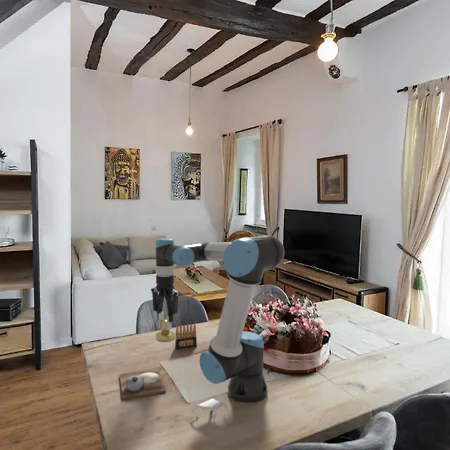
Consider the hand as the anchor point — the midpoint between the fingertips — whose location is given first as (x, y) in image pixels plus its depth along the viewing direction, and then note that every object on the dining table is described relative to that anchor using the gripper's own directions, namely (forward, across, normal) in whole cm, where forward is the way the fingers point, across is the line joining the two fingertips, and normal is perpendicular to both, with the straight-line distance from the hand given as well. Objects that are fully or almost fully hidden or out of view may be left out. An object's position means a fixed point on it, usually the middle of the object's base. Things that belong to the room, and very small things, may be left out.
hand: (165, 328), depth 156 cm
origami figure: (+19, -33, +20) cm, 43 cm away
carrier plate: (+19, +1, +14) cm, 23 cm away
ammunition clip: (+19, +4, -23) cm, 30 cm away
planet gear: (+5, 0, 0) cm, 5 cm away
